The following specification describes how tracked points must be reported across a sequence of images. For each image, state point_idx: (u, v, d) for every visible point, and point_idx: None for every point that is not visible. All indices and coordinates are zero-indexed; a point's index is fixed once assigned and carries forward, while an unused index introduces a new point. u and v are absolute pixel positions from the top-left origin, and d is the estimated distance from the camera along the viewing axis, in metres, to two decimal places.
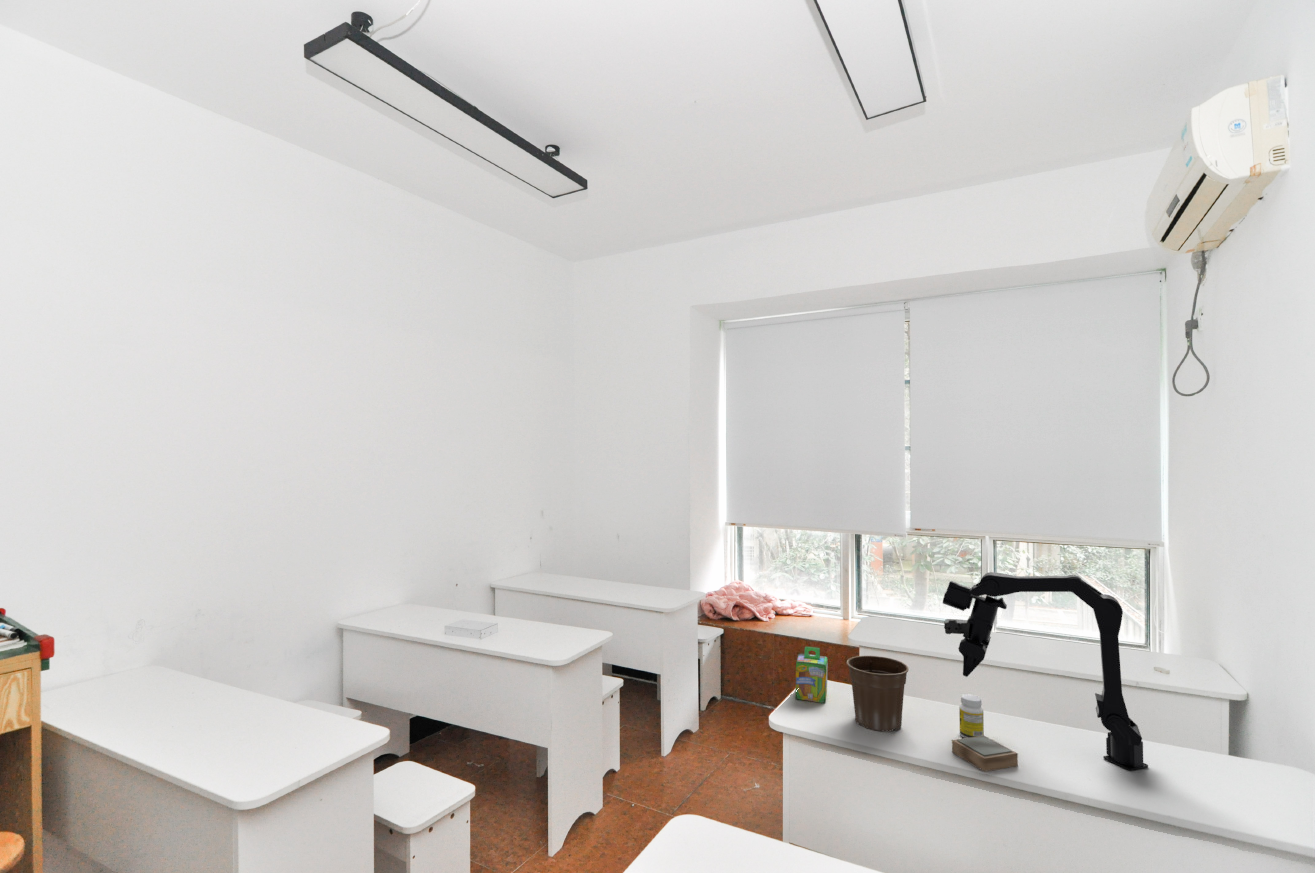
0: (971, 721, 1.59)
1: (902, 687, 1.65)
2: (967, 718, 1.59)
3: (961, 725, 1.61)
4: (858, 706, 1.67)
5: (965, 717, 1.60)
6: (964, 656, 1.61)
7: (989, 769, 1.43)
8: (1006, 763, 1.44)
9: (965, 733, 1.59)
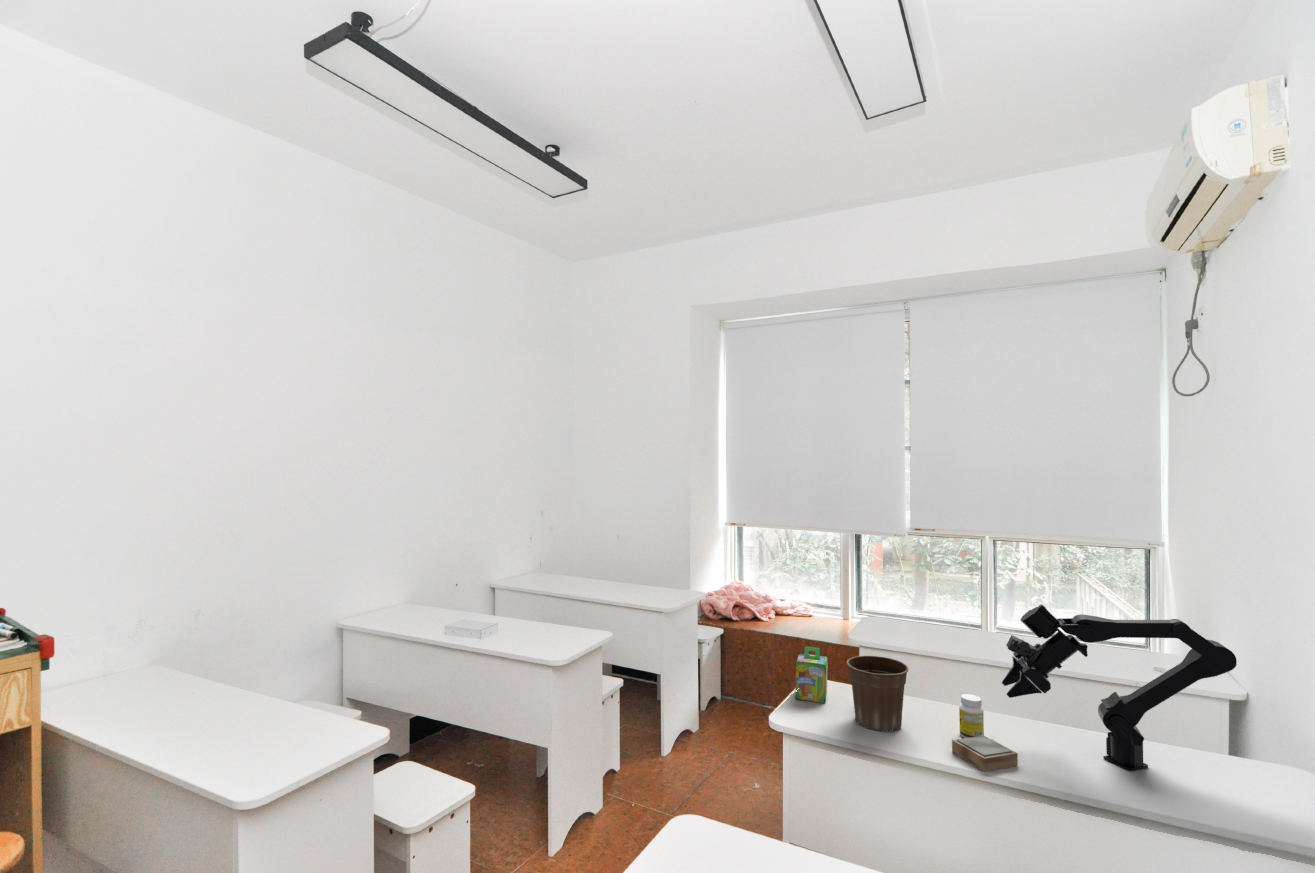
0: (971, 721, 1.59)
1: (902, 687, 1.65)
2: (967, 718, 1.59)
3: (961, 725, 1.61)
4: (858, 706, 1.67)
5: (965, 717, 1.60)
6: (1022, 680, 1.52)
7: (989, 769, 1.43)
8: (1006, 763, 1.44)
9: (965, 733, 1.59)
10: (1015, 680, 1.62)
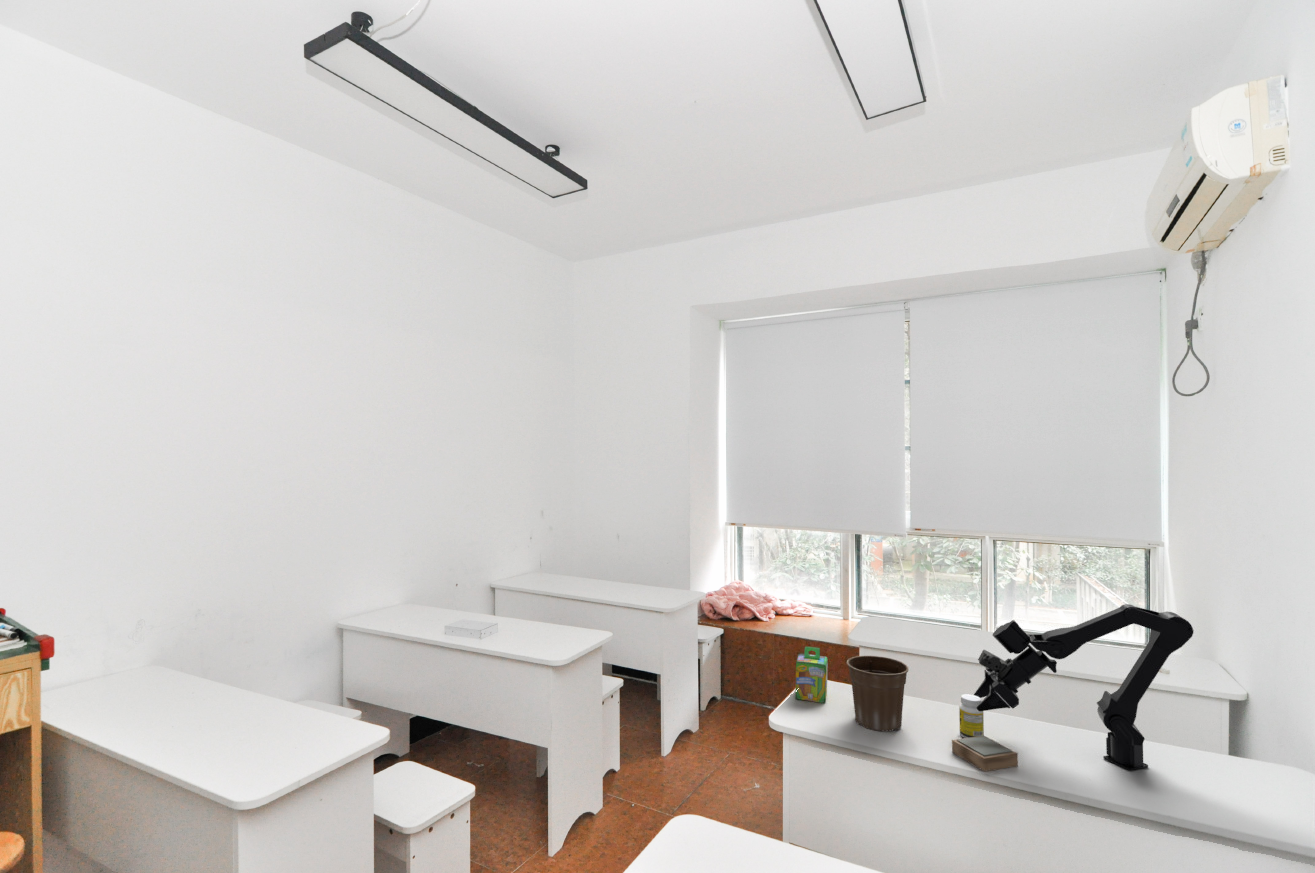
0: (971, 721, 1.59)
1: (902, 687, 1.65)
2: (967, 718, 1.59)
3: (961, 725, 1.61)
4: (858, 706, 1.67)
5: (965, 717, 1.60)
6: (991, 695, 1.54)
7: (989, 769, 1.43)
8: (1006, 763, 1.44)
9: (965, 733, 1.59)
10: (986, 694, 1.64)
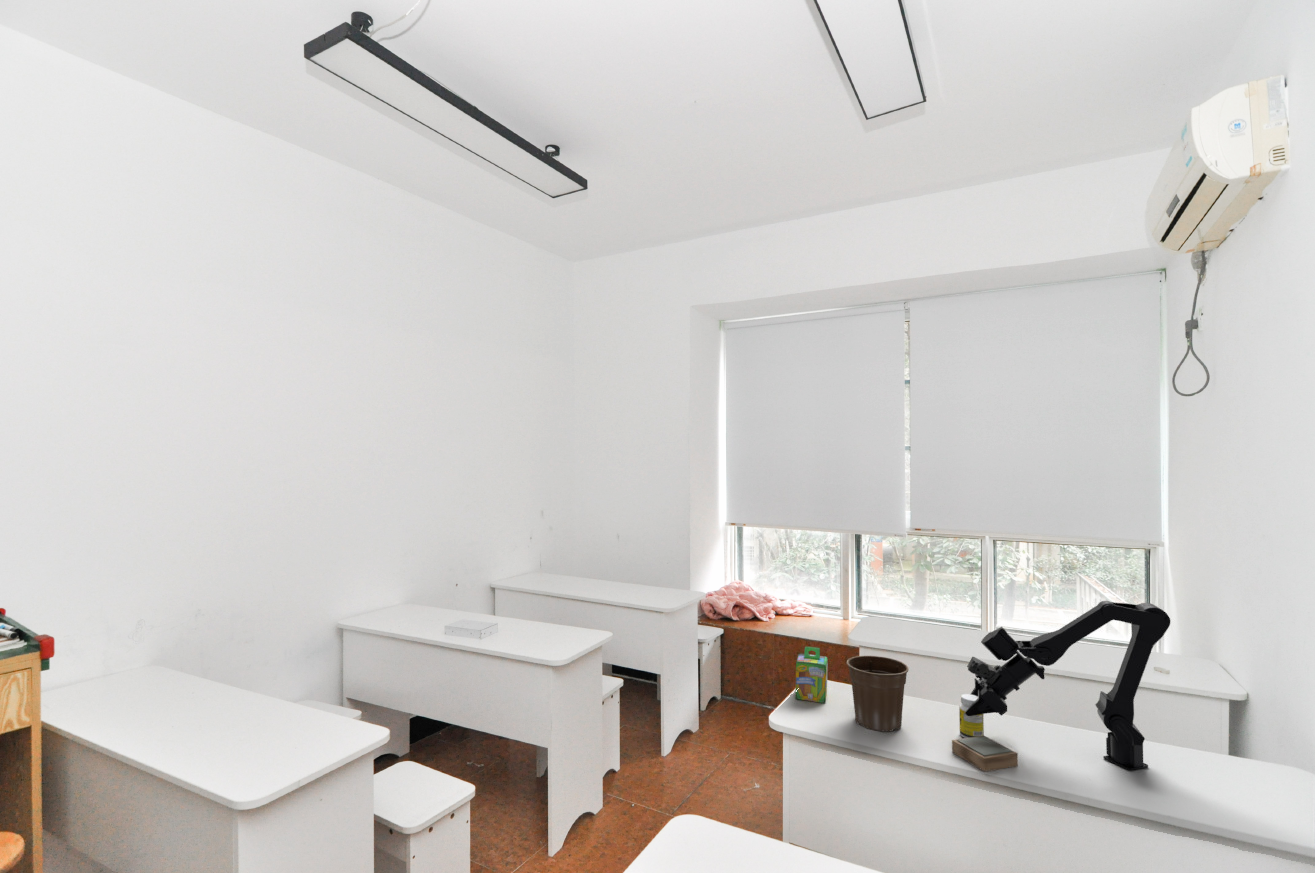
0: (971, 721, 1.59)
1: (902, 687, 1.65)
2: (967, 718, 1.59)
3: (961, 725, 1.61)
4: (858, 706, 1.67)
5: (965, 717, 1.60)
6: (979, 700, 1.56)
7: (989, 769, 1.43)
8: (1006, 763, 1.44)
9: (965, 733, 1.59)
10: None
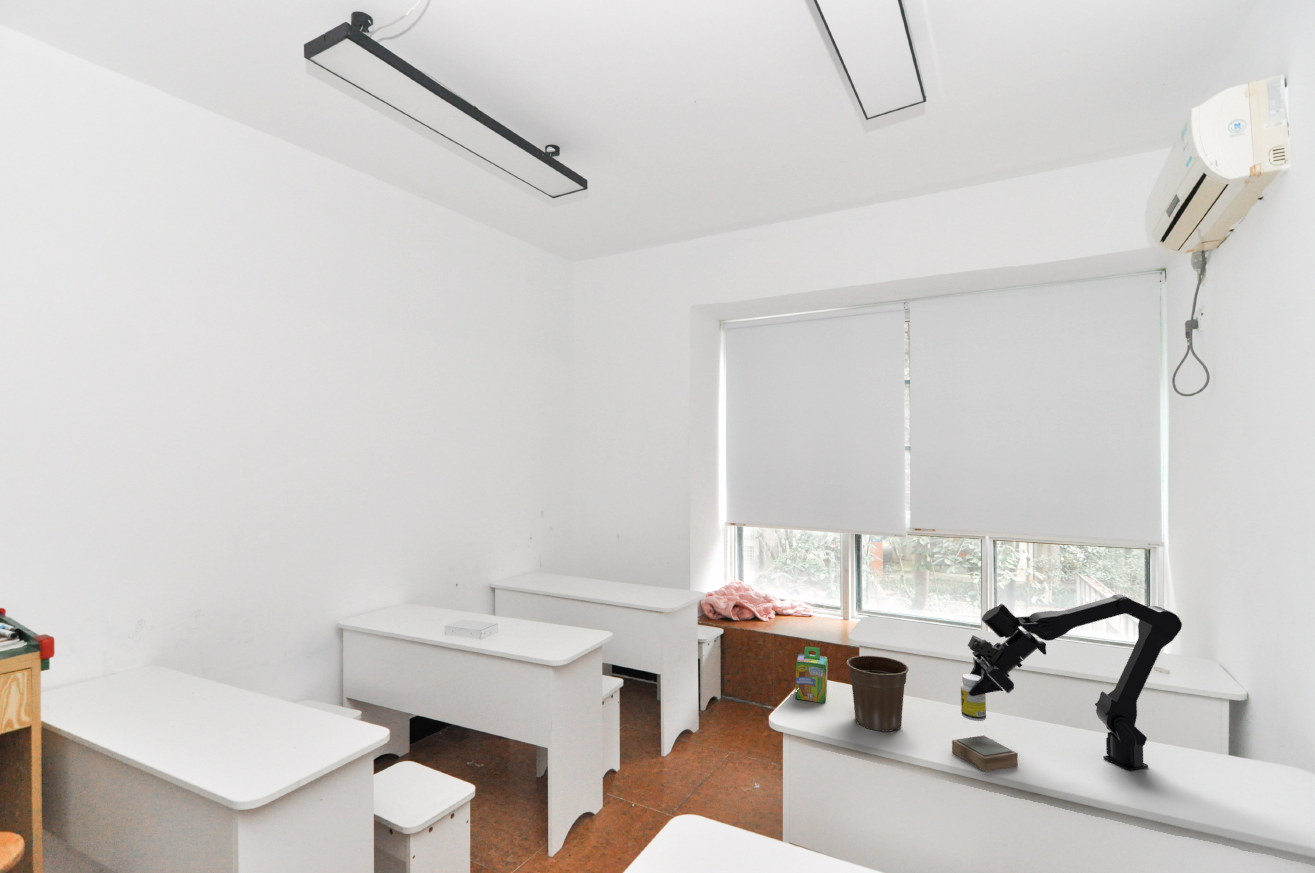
0: (974, 701, 1.55)
1: (902, 687, 1.65)
2: (970, 699, 1.55)
3: (963, 706, 1.57)
4: (858, 706, 1.67)
5: (968, 697, 1.56)
6: (984, 679, 1.53)
7: (989, 769, 1.43)
8: (1006, 763, 1.44)
9: (968, 714, 1.56)
10: None
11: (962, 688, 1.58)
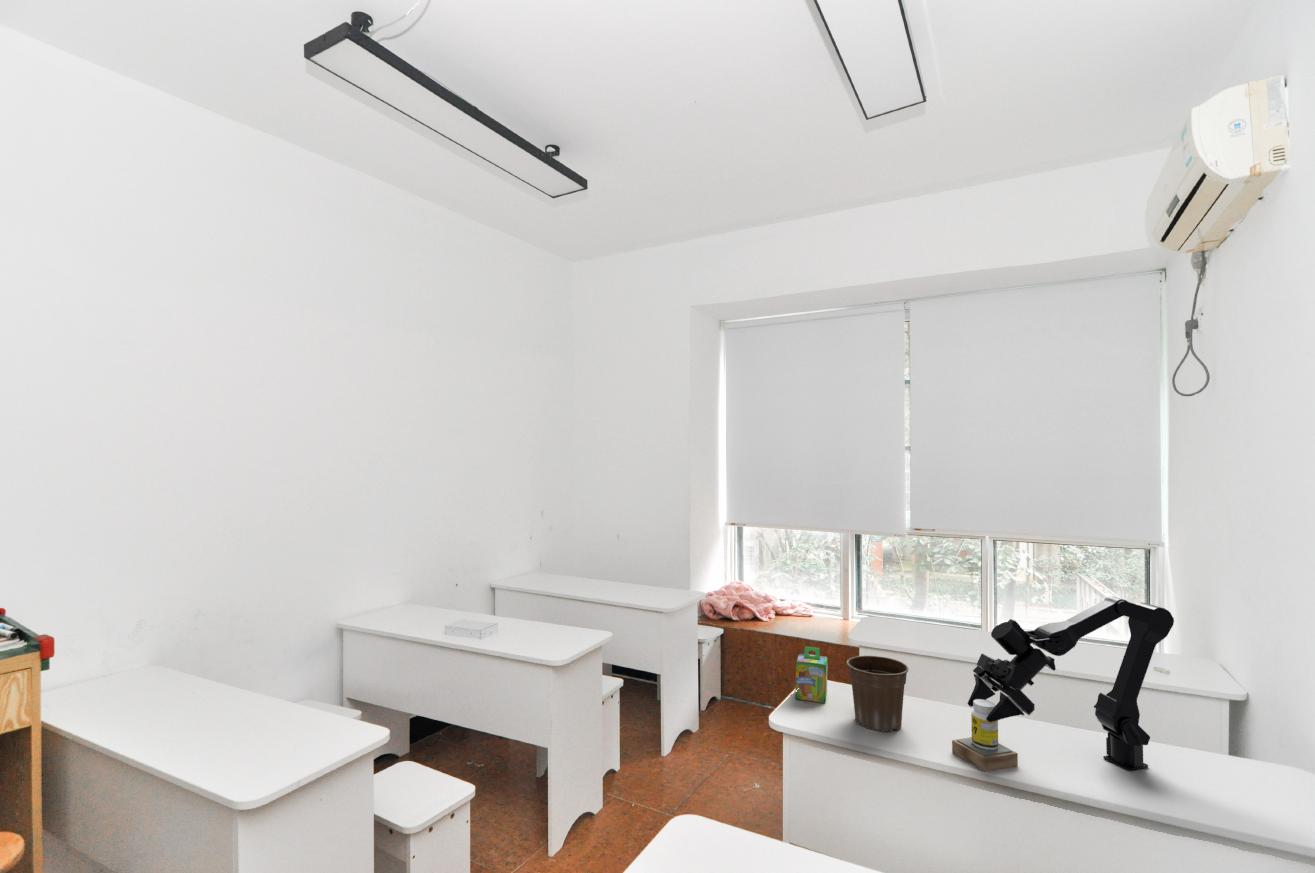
0: (989, 729, 1.46)
1: (902, 687, 1.65)
2: (985, 727, 1.46)
3: (977, 735, 1.48)
4: (858, 706, 1.67)
5: (983, 725, 1.47)
6: (1004, 703, 1.43)
7: (989, 769, 1.43)
8: (1006, 763, 1.44)
9: (983, 743, 1.46)
10: None
11: (975, 716, 1.48)
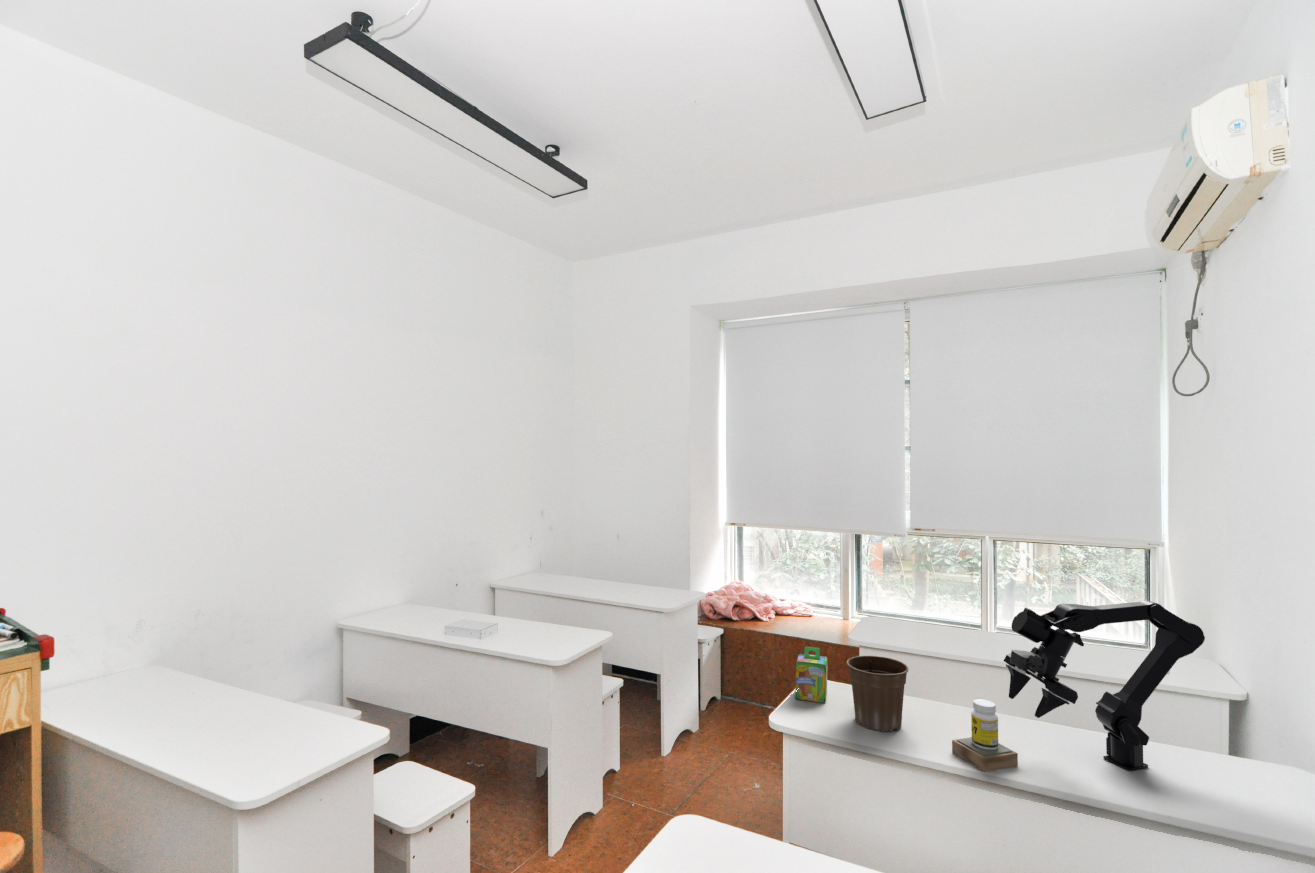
0: (989, 729, 1.46)
1: (902, 687, 1.65)
2: (985, 727, 1.46)
3: (977, 735, 1.48)
4: (858, 706, 1.67)
5: (983, 725, 1.47)
6: (1048, 698, 1.44)
7: (989, 769, 1.43)
8: (1006, 763, 1.44)
9: (983, 743, 1.46)
10: (1019, 689, 1.56)
11: (975, 716, 1.48)
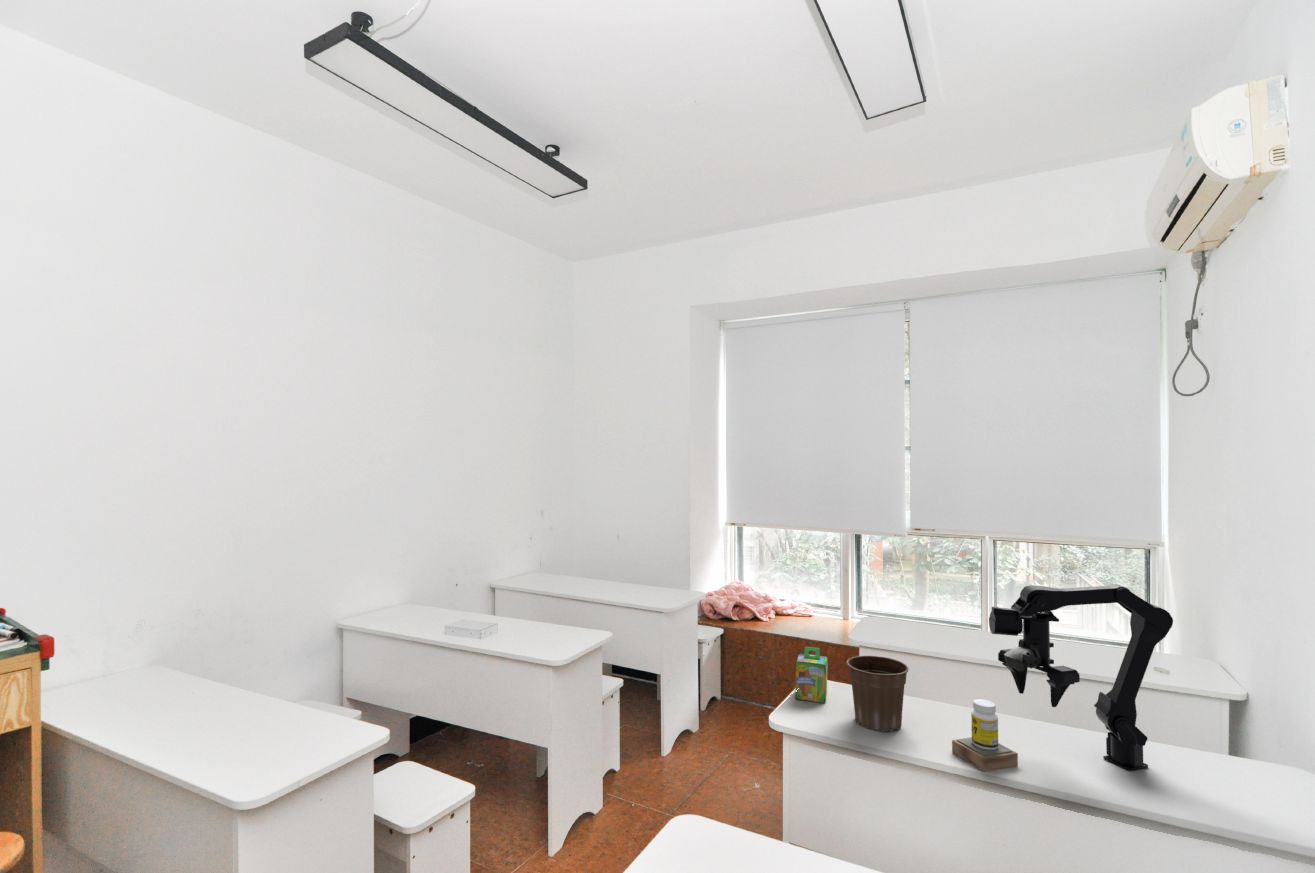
0: (989, 729, 1.46)
1: (902, 687, 1.65)
2: (985, 727, 1.46)
3: (977, 735, 1.48)
4: (858, 706, 1.67)
5: (983, 725, 1.47)
6: (1056, 687, 1.47)
7: (989, 769, 1.43)
8: (1006, 763, 1.44)
9: (983, 743, 1.46)
10: (1024, 681, 1.58)
11: (975, 716, 1.48)
